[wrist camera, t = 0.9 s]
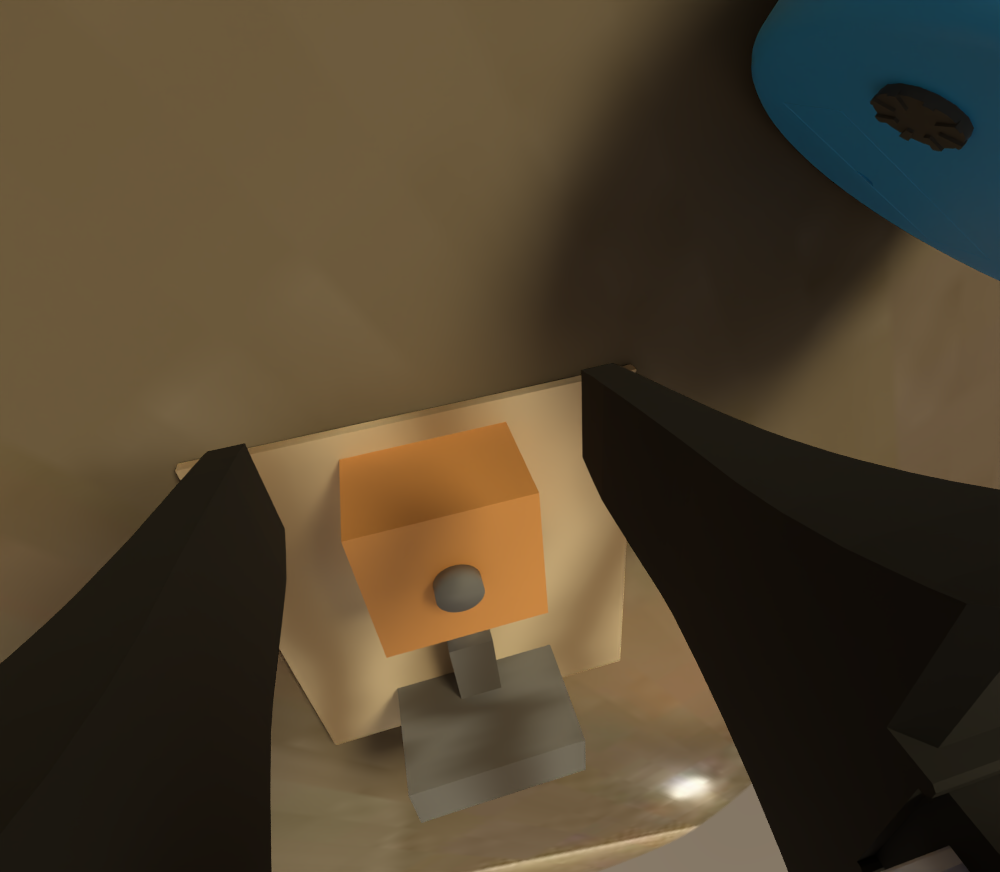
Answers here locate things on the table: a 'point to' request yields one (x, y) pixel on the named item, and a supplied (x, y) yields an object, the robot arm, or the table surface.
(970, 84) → the alarm clock
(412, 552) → the lock
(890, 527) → the robot arm
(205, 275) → the table surface
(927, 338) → the table surface
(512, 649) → the dock
